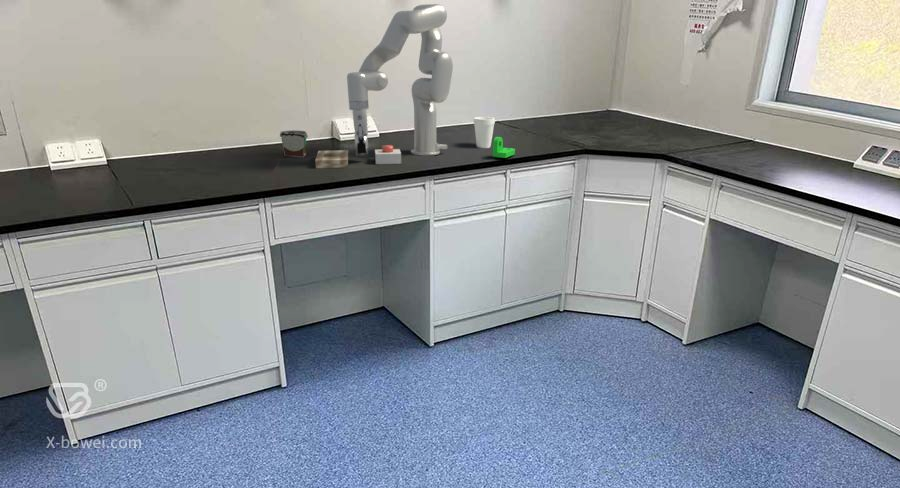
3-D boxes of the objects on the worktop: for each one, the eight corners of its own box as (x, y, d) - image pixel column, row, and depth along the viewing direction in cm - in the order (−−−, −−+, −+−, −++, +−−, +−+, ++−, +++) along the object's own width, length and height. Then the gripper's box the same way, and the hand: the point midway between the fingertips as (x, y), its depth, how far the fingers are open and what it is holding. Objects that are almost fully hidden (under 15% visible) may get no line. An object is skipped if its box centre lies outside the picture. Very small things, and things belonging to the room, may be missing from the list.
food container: (314, 155, 255) (313, 131, 251) (307, 157, 249) (305, 133, 246) (289, 153, 258) (287, 129, 255) (281, 155, 253) (279, 131, 250)
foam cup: (483, 149, 269) (483, 120, 265) (469, 146, 276) (469, 118, 272) (498, 147, 275) (499, 118, 271) (483, 144, 282) (484, 116, 278)
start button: (392, 149, 244) (392, 145, 243) (393, 151, 240) (393, 147, 239) (382, 150, 243) (381, 145, 243) (382, 152, 239) (382, 147, 239)
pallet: (348, 157, 250) (348, 150, 249) (347, 167, 231) (347, 159, 230) (318, 158, 248) (318, 150, 247) (315, 168, 230) (315, 160, 229)
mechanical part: (505, 157, 253) (506, 138, 250) (492, 156, 255) (493, 137, 253) (516, 153, 263) (517, 135, 260) (504, 152, 265) (505, 133, 263)
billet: (368, 152, 244) (367, 132, 241) (368, 155, 239) (367, 135, 236) (355, 153, 243) (354, 133, 240) (355, 155, 238) (354, 135, 236)
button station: (399, 158, 248) (399, 149, 247) (401, 163, 239) (401, 153, 238) (375, 159, 247) (374, 149, 246) (376, 164, 238) (375, 154, 236)
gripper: (368, 107, 227) (371, 155, 233) (368, 102, 243) (370, 147, 249) (348, 108, 226) (352, 156, 232) (349, 102, 242) (352, 147, 248)
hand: (361, 151), depth 241 cm, fingers closed on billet, 5 cm apart
